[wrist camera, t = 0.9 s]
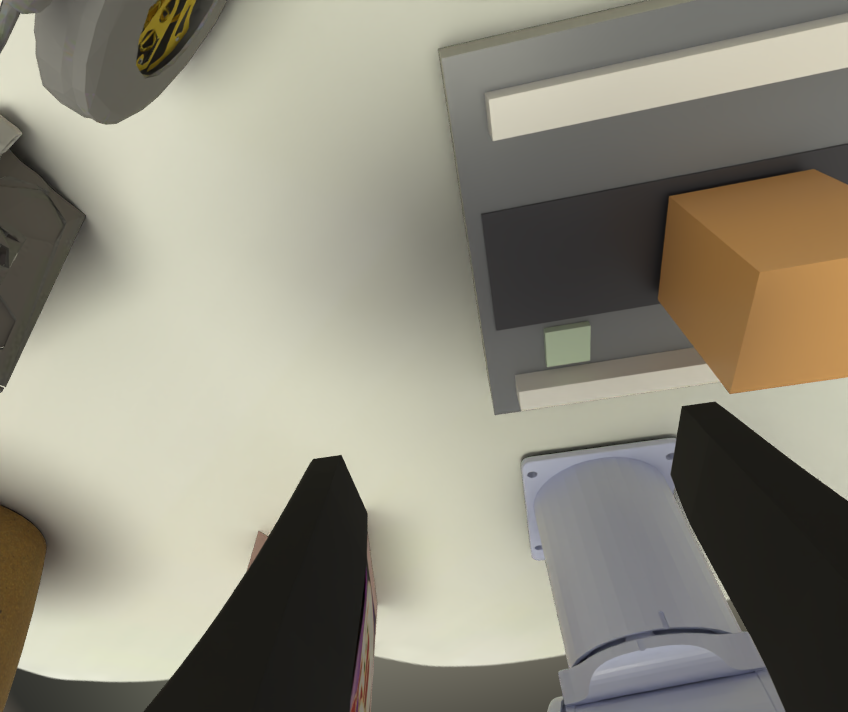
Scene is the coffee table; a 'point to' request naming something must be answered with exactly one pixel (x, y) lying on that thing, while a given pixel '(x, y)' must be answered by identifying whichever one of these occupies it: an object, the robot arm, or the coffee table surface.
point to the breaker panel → (623, 173)
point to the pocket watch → (112, 49)
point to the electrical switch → (27, 247)
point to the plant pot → (17, 589)
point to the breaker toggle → (761, 278)
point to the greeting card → (365, 639)
